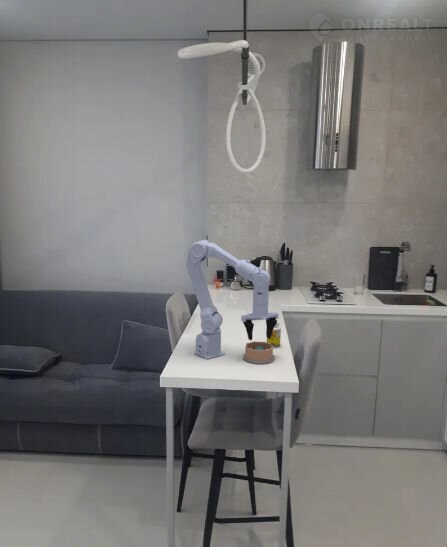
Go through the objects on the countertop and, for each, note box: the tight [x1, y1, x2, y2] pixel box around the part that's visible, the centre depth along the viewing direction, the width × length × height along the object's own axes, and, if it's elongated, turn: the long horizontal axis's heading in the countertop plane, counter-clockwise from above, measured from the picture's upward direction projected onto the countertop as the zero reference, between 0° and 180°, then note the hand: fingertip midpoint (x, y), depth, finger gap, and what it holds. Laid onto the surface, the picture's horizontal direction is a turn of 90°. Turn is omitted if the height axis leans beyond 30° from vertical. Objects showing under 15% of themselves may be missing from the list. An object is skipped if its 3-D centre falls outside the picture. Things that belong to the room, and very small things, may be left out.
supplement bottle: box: [266, 320, 282, 349], centre depth 187 cm, size 6×6×10 cm
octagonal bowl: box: [242, 340, 276, 365], centre depth 173 cm, size 12×12×5 cm
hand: (259, 338), depth 172 cm, fingers open, 7 cm apart
